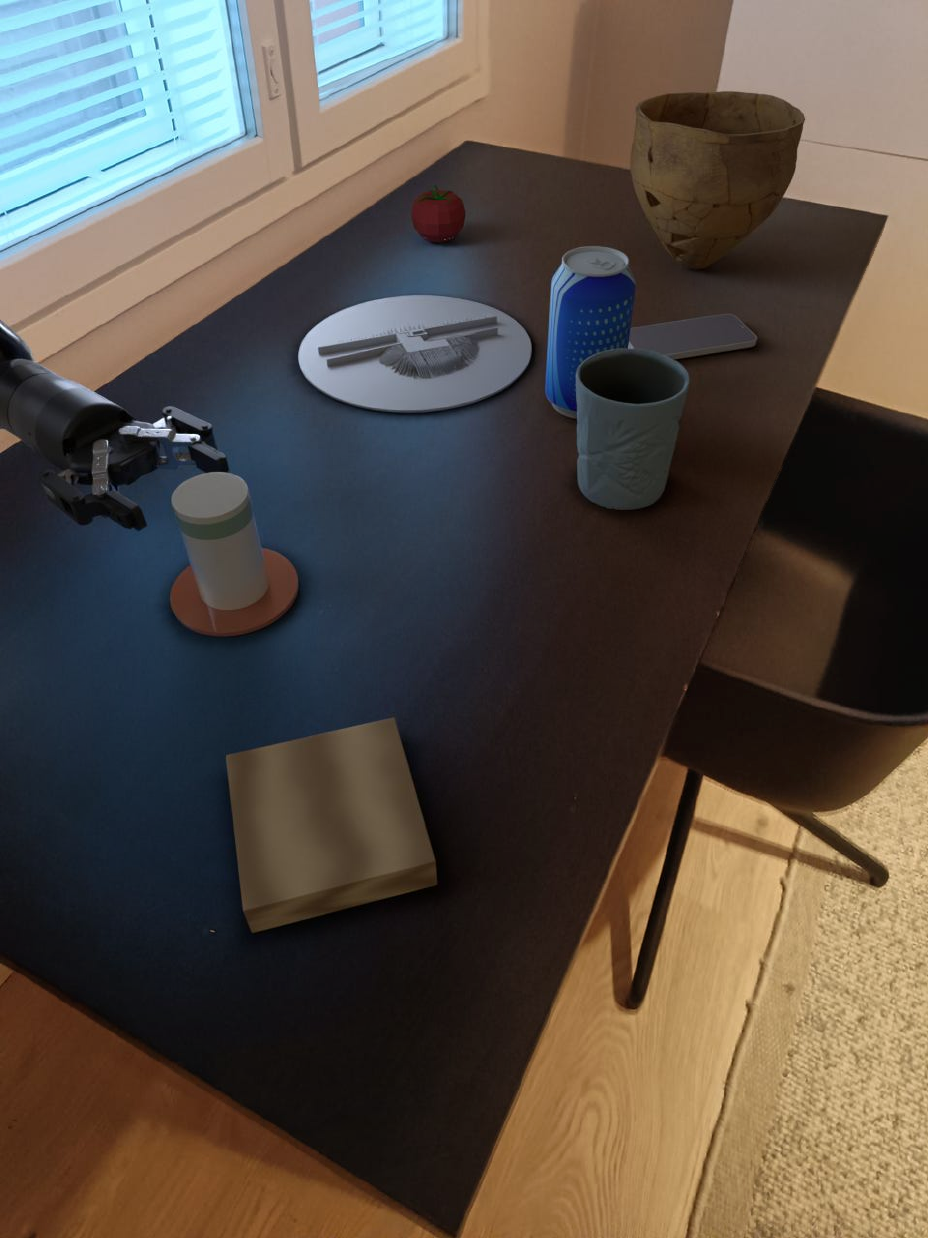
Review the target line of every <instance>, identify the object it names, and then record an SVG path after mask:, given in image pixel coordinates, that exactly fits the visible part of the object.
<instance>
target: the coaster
mask: <svg viewBox="0 0 928 1238" xmlns="http://www.w3.org/2000/svg"><path fill="white" fill-rule="evenodd" d="M262 551H263V556H264V560H265V564H266V569H267V573H268V578H269V587H268V589H267V591H266V593H265V594H264V596H263V597H262V598H261V599H260V600H258V601H257V602H255V603H254V604H252V605H250V606H248V607H245V608H242V609H237V610H219V609H215V608H212V607H210V606H208V605H207V604H205V603H204V602H203V600H202V599H201V597H200V594H199V591H198V588H197V584H196V581H195V578H194V575H193V571H192V568H191V565H190V564H189V565H187V566H186V568H184V569H183V570H182V571H181V572H180V574H179V575H177V577H176V579H175V580H174V582H173V583H172V587H171V589H170V595H169V601H170V607H171V610H172V612H173V614H174V616H175V617H176V620H178V622H179V623H181V624H182V625H183V626H184V627H186V628H187V629H189V630H191V631H193V632H195V633H197V634H201V635H205V636H211V637H236V636H242V635H247V634H249V633H253V632H257V631H259V630H261V629H263V628H265V627H268V626H269V625H271V624H273V623H275V622H276V621H277V620H279V619H280V618H281V617H282V616H284V615H285V614H286V613H287V612H288V611H289V610H290V609H291V607H292V605H293V604H294V602H295V600H296V598H297V597H298V592H299V589H300V583H299V582H300V581H299V577H298V572H297V570H296V568H295V567H294V564H293V563H292V562H291V561H290V560H289V559H288V558H286V557H285V556H284V555H282V554H281V553H278V552H276V551H274V550H271V549H269V548H264V547H262Z"/></svg>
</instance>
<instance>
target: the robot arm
mask: <svg viewBox="0 0 928 1238" xmlns="http://www.w3.org/2000/svg"><path fill="white" fill-rule="evenodd" d="M161 413H162V416H163V417H162V418H161V419H159V420H157V421H155V422H154V423H150V422H144V421H139V420H136V419H135V418H134V417H133V416H132V415H131V414H130V413H129V412H128V411H127V410H126V409H125V408H123V406H120V405H119V404H116V403H115V402H113V401H111V400H110V399H108V398H106V397H105V396H102V395H100V394H99V393H97V392H95V391H93V390H91V389H90V388H88V387H86V386H85V385H83V384H81V383H79V382H77V381H75V380H72V379H71V378H66V377H63V376H61V375H60V374H58V373H56V372H54V371H52V370H51V369H50V368H47V367H45V366H44V365H42V364H40V363H38V362H35V357H34V353H33V351H32V349H31V348H30V346H29V345H28V344H27V342H26V341H25V340H24V339H23V337H21V336H20V335H19V334H18V333H17V332H16V331H14V330H13V329H12V328H11V327H10V326H9V325H8V324H6V323H5V322H4V321H3V320H1V319H0V430H4V431H6V432H8V433H10V434H11V435H13V436H15V437H16V438H17V439H19V440H21V441H22V442H23V444H25V445H26V446H27V447H28V448H29V449H31V450H32V451H33V452H34V453H35V454H36V455H38V456H39V457H42V458H43V459H45V460H46V461H48V462H50V464H53V465H54V466H55V467H57V468H59V469H60V470H62V471H60V472H59V473H56V472H55V471H54V470H53V469H44V470H42V471H40V472H39V473H38V478H39V480H40V482H41V485H42V488H43V490H44V492H45V494H46V497H47V499H48V501H49V502H50V503H52V504H53V505H55V506H56V507H57V508H58V509H59V510H61V512H63V513H64V514H65V515H67V516H68V518H70V519H72V521H74V522H75V523H76V524H78V526H87V525H89V524H91V523H93V520H94V519H93V518H95V517H99V516H101V517H102V518H105V519H107V518H108V519H110V520H111V521H113V522H114V523H116V524H117V525H120V527H122V528H124V529H128V530H132V529H134V530H135V531H138V532H140V531H142V530H144V529H145V528H147V526H148V524H147V521H146V519H145V515H144V512H143V510H142V508H141V507H140V506H139V505H138V504H137V503H135V502H134V501H132V500H131V499H130V498H128V497H126V496H125V495H122V494H121V493H120V488H121V487H120V486H124V485H126V486H130V485H132V484H133V483H135V482H137V480H139V479H140V478H141V477H144V476H146V475H149V474H151V473H153V472H155V471H157V470H177V469H178V468H179V466H195V467H196V468H197V469H198V470H200V471H202V472H203V473H204V474H205V473H211V472H225V473H229V472H230V467H229V464H228V459H227V456H226V455H225V453H223V452H221V451H219V449H218V445H217V443H216V439H215V434H214V428H213V425H212V424H211V423H209V422H208V421H205V420H203V419H201V418H198V417H196V416H194V415H192V414H190V413H188V412H185V411H183V410H181V409H179V408H177V407H175V406H166V407H164V408H162V410H161ZM161 445H162V446H163V448H164V452H165V455H166V456H161ZM179 447H187V449H188V452H181V450H180V449H179ZM76 483H77V484H78V485H81V486H92V487H91V493H89V494H86V495H84V494H83V493H82V492H81V491H80V490H78V489H77V488H76V487H75V484H76Z"/></svg>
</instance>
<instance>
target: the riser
mask: <svg viewBox="0 0 928 1238" xmlns="http://www.w3.org/2000/svg"><path fill="white" fill-rule="evenodd" d="M403 746H404V745H403V742H402V738H401V735H400V732H399V728H398V725H397V720H396V718H395V717H390V718H385V719H381V720H376V721H372V722H368V723H363V724H358V725H354V726H350V727H345V728H341V729H337V730H332V731H327V732H323V733H319V734H315V735H314V734H313V735H310V736H306V737H305V736H304V737H301V738H296V739H291V740H288V741H283V742H278V743H274V744H270V745H266V746H261V747H257V748H256V747H255V748H252V749H247V750H243V751H238V752H234V753H230V754H226V755H225V761H226V773H227V780H228V790H229V796H230V797H229V798H230V806H231V815H232V824H233V833H234V843H235V853H236V860H237V861H236V862H237V869H238V878H239V888H240V896H241V905H242V906H241V907H242V912H243V914H244V917H245V920H246V922H247V924H248V927H249V929H250V932H251V934H255V933H258V932H261V931H266V930H271V929H274V928H278V927H281V926H286V925H288V924H293V923H297V922H300V921H305V920H309V919H312V918H315V917H320V916H323V915H327V914H331V913H335V912H339V911H343V910H347V909H350V908H353V907H357V906H362V905H365V904H370V903H372V902H377V901H380V900H381V901H382V900H384V899H388V898H389V899H390V898H392V897H397V896H400V895H403V894H407V893H411V892H415V891H418V890H424V889H426V888H430V887H434V886H437V885H438V874H437V860H436V857H435V854H434V850H433V846H432V843H431V840H430V836H429V833H428V829H427V825H426V823H425V819H424V815H423V812H422V809H421V805H420V802H419V798H418V794H417V791H416V788H415V783H414V781H413V780H414V779H413V777H412V773H411V771H410V766H409V763H408V760H407V756H406V752H405V749H404V747H403Z"/></svg>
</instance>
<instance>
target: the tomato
mask: <svg viewBox="0 0 928 1238" xmlns="http://www.w3.org/2000/svg"><path fill="white" fill-rule="evenodd" d="M434 188H435V189H427V191H425V192H422V193H421V194H420V195H418V196H417V197H416V198H415V199H414V200H413V203H412V207H411V212H410V213H411V214H410V219H411V222H412V227H413V229H414V230H415V231H416V232H417V233H418V234H419V236H421V238H423V237H425V238H423V239H424V240H426V241H428V242H433V243H442V242H449V241H452V240H454V239H455V238H456V237H457V236H458V235H459V233H460V232H461V231H462V230H463V229H464V227H465V221H466V216H467V215H466V209H465V205H464V202H463V199H462V198H460V197H459V196H458V195H457V194H456V193H455V192H454V191H452V190H448V189H447V190H444V189H438V185H437V184H434ZM452 237H453V238H452ZM426 238H427V239H426ZM449 238H450V239H449ZM444 239H446V240H444Z"/></svg>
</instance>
